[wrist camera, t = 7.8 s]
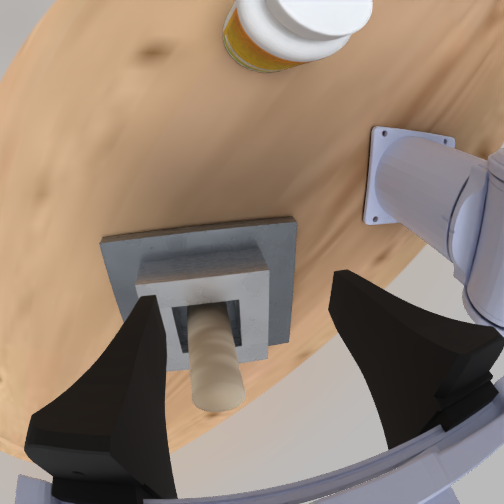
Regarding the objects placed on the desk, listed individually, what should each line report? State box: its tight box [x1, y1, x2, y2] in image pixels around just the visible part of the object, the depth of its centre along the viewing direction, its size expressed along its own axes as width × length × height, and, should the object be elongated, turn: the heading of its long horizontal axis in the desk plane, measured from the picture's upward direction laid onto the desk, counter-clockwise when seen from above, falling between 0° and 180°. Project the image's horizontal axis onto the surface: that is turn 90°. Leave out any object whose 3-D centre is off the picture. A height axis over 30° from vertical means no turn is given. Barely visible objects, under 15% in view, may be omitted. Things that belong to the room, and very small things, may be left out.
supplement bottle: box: [223, 0, 372, 72], centre depth 11 cm, size 5×5×10 cm
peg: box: [187, 301, 246, 412], centre depth 19 cm, size 3×3×9 cm
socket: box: [100, 217, 297, 372], centre depth 22 cm, size 14×12×4 cm
